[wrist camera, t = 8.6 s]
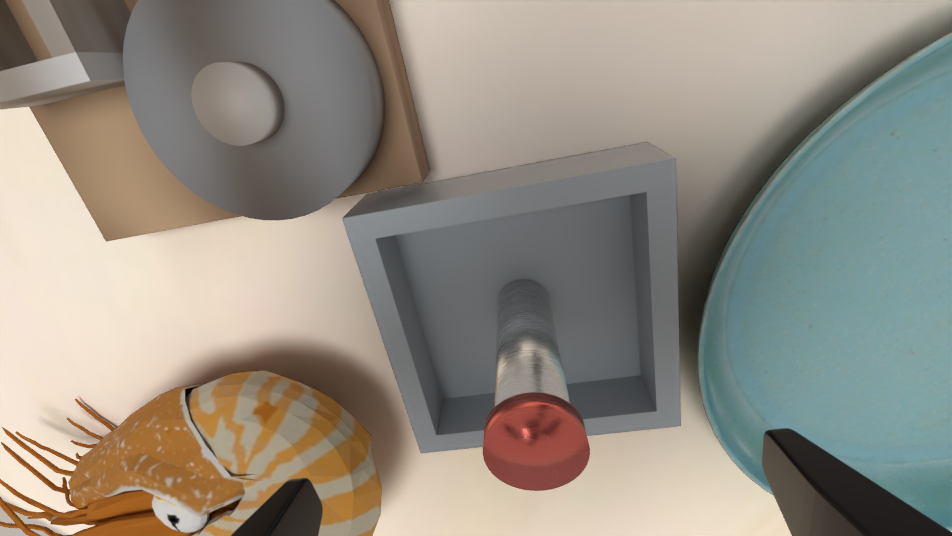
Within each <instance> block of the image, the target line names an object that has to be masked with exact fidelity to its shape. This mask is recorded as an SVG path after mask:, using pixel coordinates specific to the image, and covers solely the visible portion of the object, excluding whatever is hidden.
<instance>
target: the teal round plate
mask: <svg viewBox="0 0 952 536" xmlns="http://www.w3.org/2000/svg"><path fill="white" fill-rule="evenodd" d="M698 377H699V387H700V392H701V396H702V401H703V405H704V408H705V411H706V415H707V417H708V420H709V422H710V424H711V427H712V429H713V431H714V433H715V435H716V437H717V439H718V440H719V442H720V444H721V445H722V447H723V448H724V450H725V451H726V453H727V454H728V455H729V457H730V458H731V459H732V461H733V462H734V463H735V464H736V465H737V466H738V468H739V469H740V470H741V471H742V472H743V473H745V474H746V475H747V476H748V477H749V478H750V479H751V480H753V481H754V482H755V483H756V484H758V485H759V486H760V487H761V488H763V489H764V490H766V491H767V492H769V493H770V494H772V495H773V492H772V490H771V488H770V486H769V484H768V481H767V479H766V477H765V474H764V471H763V468H762V449H763V436H764V433H765V432H766V431H767V430H772V429H782V428H789V429H792V430H794V431H796V432H797V433H799V434H800V435H802V436H804V437H805V438H807V439H808V440H810V441H811V442H813V443H814V444H816V445H818V446H819V447H821V448H822V449H824V450H825V451H827V452H828V453H830V454H832V455H833V456H835V457H836V458H838V459H839V460H841V461H842V462H844V463H845V464H847V465H849V466H850V467H852V468H853V469H855V470H856V471H858V472H859V473H861V474H863V475H864V476H866V477H867V478H869V479H870V480H872V481H873V482H875V483H876V484H878V485H880V486H881V487H883V488H884V489H886V490H887V491H889V492H890V493H892V494H894V495H895V496H897V497H898V498H900V499H901V500H903V501H904V502H906V503H907V504H909V505H911V506H912V507H914V508H915V509H917V510H918V511H920V512H921V513H923V514H925V515H926V516H928V517H929V518H931V519H932V520H934V521H935V522H937V523H939V524H940V525H942V526H943V527H945V528H946V529H948V530H949V531H952V32H950V33H949V34H947V35H945V36H943V37H941V38H940V39H938V40H936V41H934V42H933V43H931V44H929V45H927V46H925V47H924V48H922V49H920V50H919V51H917V52H916V53H914V54H912V55H911V56H909V57H908V58H906V59H905V60H903V61H902V62H900V63H898V64H897V65H895V66H894V67H893V68H891V69H890V70H888V71H887V72H885V73H884V74H882V75H881V76H880V77H878V78H877V79H875V80H874V81H872V82H871V83H870V84H868V85H867V86H866V87H864V88H863V89H862V90H860V91H859V92H858V93H857V94H855V95H854V96H853V97H851V98H850V99H849V100H848V101H847V102H845V103H844V104H843V105H842V106H841V107H839V108H838V109H837V110H836V111H835V112H833V113H832V114H831V115H830V116H829V117H828V118H827V119H825V120H824V121H823V122H822V123H821V124H820V125H819V126H818V127H817V128H815V129H814V130H813V131H812V132H811V133H810V134H809V135H808V136H807V137H806V138H805V139H804V140H803V141H802V142H801V143H800V144H799V145H798V146H797V147H796V148H795V149H794V150H793V151H792V152H791V154H790V155H789V156H788V157H787V158H786V159H785V160H784V161H783V163H782V164H781V165H780V166H779V167H778V168H777V169H776V171H775V172H774V173H773V175H772V176H771V177H770V178H769V180H768V181H767V182H766V184H765V185H764V186H763V187H762V189H761V190H760V191H759V193H758V194H757V195H756V197H755V198H754V199H753V201H752V202H751V204H750V205H749V207H748V208H747V210H746V211H745V213H744V214H743V216H742V218H741V219H740V221H739V222H738V224H737V226H736V228H735V230H734V231H733V233H732V235H731V237H730V239H729V240H728V242H727V244H726V246H725V248H724V251H723V253H722V255H721V257H720V259H719V262H718V264H717V266H716V269H715V272H714V274H713V277H712V280H711V283H710V286H709V289H708V293H707V296H706V300H705V304H704V308H703V312H702V318H701V324H700V329H699V340H698Z"/></svg>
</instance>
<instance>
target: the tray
mask: <svg viewBox="0 0 952 536" xmlns="http://www.w3.org/2000/svg"><path fill="white" fill-rule="evenodd" d="M342 219H343V222H344V225H345V228H346V231H347V234H348V237H349V240H350V243H351V246H352V249H353V252H354V255H355V258H356V261H357V264H358V267H359V270H360V273H361V276H362V279H363V282H364V285H365V288H366V291H367V294H368V297H369V300H370V303H371V306H372V309H373V312H374V315H375V318H376V321H377V324H378V327H379V330H380V333H381V336H382V339H383V342H384V345H385V348H386V351H387V354H388V357H389V360H390V363H391V366H392V369H393V372H394V375H395V378H396V381H397V384H398V387H399V390H400V392H401V395H402V398H403V401H404V404H405V407H406V410H407V413H408V416H409V419H410V422H411V425H412V428H413V431H414V434H415V437H416V440H417V443H418V446H419V449H420V452H421V453H428V452H438V451H447V450H457V449H466V448H476V447H483V440H484V426H485V422H486V419H487V417H488V415H489V413H490V412H491V411H492V409H493V408H494V407H495V376H496V337H497V300H498V295H499V293H500V291H501V290H502V288H503V287H504V286H505V285H506V284H508V283H509V282H511V281H514V280H517V279H531V280H534V281H537V282H538V283H540V284H541V285H543V286H544V287H545V289H546V290H547V292H548V294H549V298H550V303H551V308H552V313H553V318H554V323H555V329H556V334H557V339H558V344H559V349H560V355H561V360H562V365H563V370H564V375H565V381H566V386H567V391H568V396H569V401H570V404H571V405H573V406H574V407H575V408H576V409H577V411H578V412H579V413H580V415H581V416H582V419H583V421H584V425H585V430H586V434H587V436H590V435H600V434H609V433H619V432H628V431H638V430H647V429H657V428H667V427H676V426H681V411H680V358H679V306H678V254H677V201H676V158H674V157H673V156H671V155H669V154H668V153H666V152H664V151H662V150H661V149H659V148H657V147H655V146H654V145H652V144H650V143H649V142H645V143H639V144H634V145H629V146H623V147H618V148H613V149H607V150H602V151H597V152H591V153H586V154H580V155H575V156H570V157H564V158H559V159H554V160H548V161H543V162H538V163H532V164H527V165H521V166H516V167H511V168H505V169H500V170H495V171H489V172H484V173H479V174H473V175H468V176H463V177H457V178H452V179H446V180H441V181H436V182H430V183H425V184H420V185H414V186H409V187H404V188H398V189H393V190H387V191H382V192H377V193H371V194H366V195H365V196H364V197H363V198H362V199H361V200H360V201H359V202H358V203H357V204H356V205H355V206H354V207H353V208H352V209H351V210H350V211H349V212H348V213H347V214H346V215H345V216H344V217H343V218H342Z"/></svg>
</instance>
